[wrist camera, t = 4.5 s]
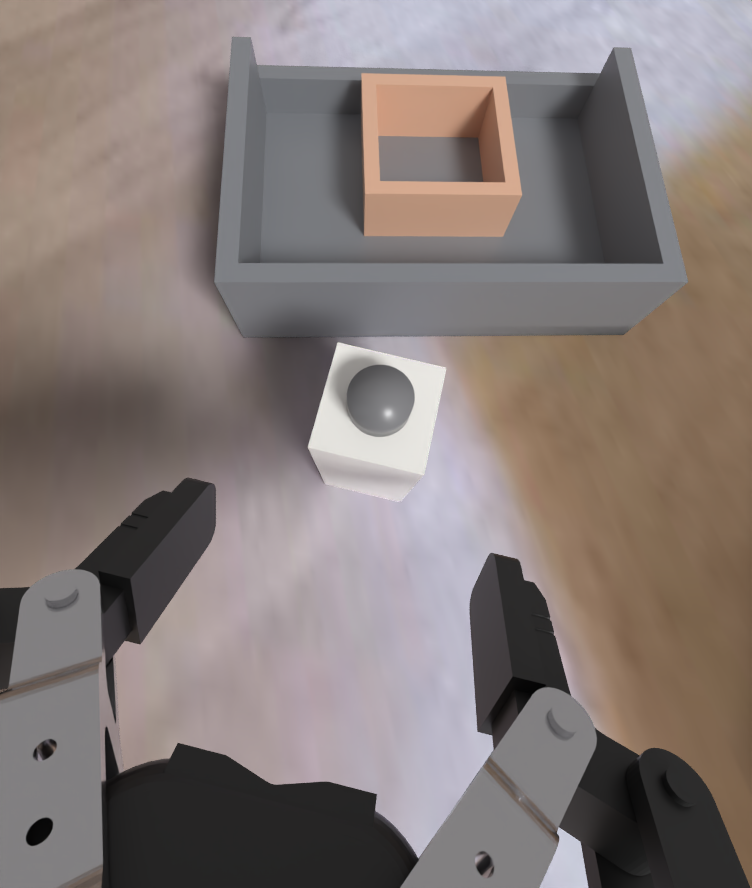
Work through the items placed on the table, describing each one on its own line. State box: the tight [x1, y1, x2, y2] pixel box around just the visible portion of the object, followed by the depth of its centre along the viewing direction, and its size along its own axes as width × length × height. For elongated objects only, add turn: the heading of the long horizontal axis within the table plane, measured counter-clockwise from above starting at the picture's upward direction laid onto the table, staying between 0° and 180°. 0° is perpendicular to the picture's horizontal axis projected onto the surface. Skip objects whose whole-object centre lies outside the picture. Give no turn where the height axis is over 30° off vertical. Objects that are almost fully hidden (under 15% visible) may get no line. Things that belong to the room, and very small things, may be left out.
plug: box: [308, 342, 446, 502], centre depth 18 cm, size 4×4×9 cm
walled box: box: [214, 37, 688, 337], centre depth 24 cm, size 22×16×5 cm
